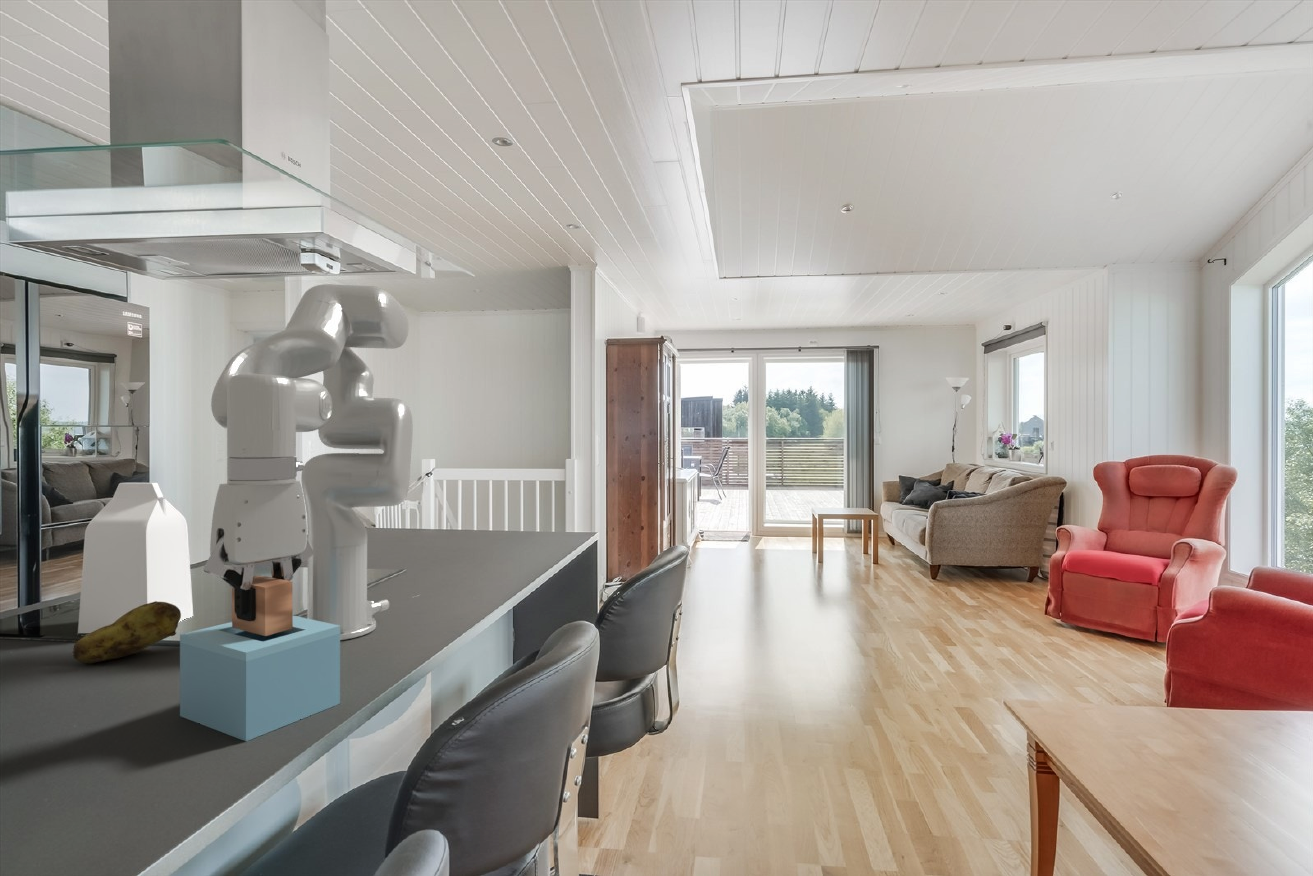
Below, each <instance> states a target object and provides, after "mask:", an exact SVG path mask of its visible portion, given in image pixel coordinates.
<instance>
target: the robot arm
mask: <svg viewBox="0 0 1313 876" xmlns="http://www.w3.org/2000/svg"><path fill="white" fill-rule="evenodd" d="M408 335H409V321H408V317H407V313H406V311H405V309H404V307H403V306H402V304H400V303H399V302H398V300H396V298H395V297H394V296H393V295H392V294H391V293H389V292H388V291H386V290H385V289H383V288H381V287H378V286H371V285H357V284H356V285H353V284H352V285H351V284H335V283H334V284H333V283H330V284H327V283H325V284H318V285H314V286H312V287H310V288H308V290H306V291H305V292H304V293H303V295H302V297H301V298H300V300H299V302H298V304H297V306H296V308H295V310H294V312H293V313H292V315H291V317H290V320H289V321H288V323H287V324H286V326H285V328H284V330H281V331H279V332H276V333H274V334H271V335H269V336H267V337H265V338H263V339H260V340H259V341H257V342H255V343H252V344H250V345H248V346H247V347H245V348H243V349H241V350H240V351H238V352H237V353H236V354H235V355H233V356H232V358H231V359H230V360H228V362H227V364H226V365H225V367H224V369H223V371H222V372H221V374H220V375H219V377H218V379H217V381H216V383H215V386H214V388H213V390H212V391H213V392H212V395H211V400H210V401H211V403H210V407H211V412H212V416H213V418H214V420H215V421H216V422H217V423H218V425H220V426H221V427H222V428H224V429H226V438H227V439H226V457H227V459H226V464H227V465H226V471H227V472H226V477H227V478H226V480H227V481H226V483H219V486H218V489H217V493H216V496H215V502H214V506H213V510H212V511H213V513H212V519H211V520H212V522H211V527H210V529H211V530H210V531H211V532H210V541H209V543H210V545H209V546H210V547H209V548H210V549H209V553H210V556H209V557H208V559H207V561H206V563H205V565H204V567H203V572H204V573H207V574H209V575H212V576H215V577H218V578H220V579H222V580H223V581H224V582H225V583H227V584H228V585H229V587H230V588H231V589H232V588H234V610H235V613H236V615H237V618H238V619H241V620H245V621H249V622H250V621H254V620H255V619H256V589H254V588H252V581H253V576H254V571H255V564H259V563H265V562H266V563H267V562H269V564H270V572H271V573H270V574H271V578H277V579H282V580H287V581H292V580H293V579H294V574H295V573H296V571H297V570H299V568H300V567H301V566H302V564H303V563H304V562H306V561H307V593H306V594H307V609H306V611H307V614H306V615H307V616H306V618H307V619H312V620H316V621H321V622H325V623H330V624H334V625H339V626H340V641H343V640H349V639H355V638H358V637H362V636H365V635H367V634H369V633H371V632H373V631H375V629H376V628H377V621H376V620H377V619H375V618H374V617H373V616H374V615H375V614H376V613H377V612H383V611H386V610H388V609H389V608H390V601H389V600H388V599H382V600H378V601H375V602H374V601H373V600H368V532H367V528H366V526H365V523H364V522H363V521H362V519H361V518H360V516H359V515H357V513H356V511H354V509H353V508H362V507H363V508H367V507H368V508H371V507H373V508H374V507H382V508H383V507H394V506H399V505H400V504H402V503H403V502H404V501H405V500H406V498H407V496H408V492H409V488H410V479H411V478H410V477H411V465H412V460H411V459H412V447H413V425H414V424H413V417H412V411H411V409H410V407H409V405H408V404H407V403H406V402H405V401H403V400H401V399H399V398H390V397H373V393H374V391H373V390H374V382H375V379H374V375H373V373H372V371H371V369H370V368H369V366H368V365H367V364H366V363H365V362H364V360H363V359H361V357H360V356H359V355H357V354H356V353H355V352H354V351H353V349H352V348H357V349H358V348H359V349H386V350H388V349H394V350H395V349H398V348H401V347H402V346H403V345H404V344H405V343H406V341H407V338H408ZM321 372H322V373H323V378H322V379H323V380H322V381H323V382H322V383H321V382H319V381H318V380H315V379H313V378H303V377H308V376H311V375H314V374H319V373H321ZM314 431H318V437H319V440H320V441H321V443H322V444H323V445H324V446H326V447H329V448H333V449H339V450H340V449H341V450H382V451H383V453H360V452H338V453H337V452H335V453H334V452H331V453H324V454H318V455H316V456H313V457H311V458H310V459H309V460H307V461H306V462H305V464H304V463H303V461H299V460H298V457H296V455H297V454H296V453H297V441H296V440H297V433H309V432H314ZM297 472H301V474H300V475H301V477H300V478H301V480H297V476H298V475H297ZM224 563H230V564H231V567H230V568H229V567H226V566H225V564H224Z"/></svg>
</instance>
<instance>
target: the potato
mask: <svg viewBox="0 0 1313 876" xmlns="http://www.w3.org/2000/svg"><path fill="white" fill-rule="evenodd" d="M180 618H181V612H180V610H179V608H178V607H176V606H175V605H173V604H170V603H167V602H157V601H155V602H152V603H148V604H144V605H142V606H139V607H137V608H134V609H132V610H131V611H129V612H127V613H126V614H124V615H123V616H122V617H120V618H119V619H118V620H116V621H115V622H114V623H113V624H111V625H108V626H104V627H102V628H100V629H97V630H95V631H93V632H91V633H90V634H88V635H83V637H81V638H80V639H78V640H77V641H76V642H75V643H74V644H73V651H72V653H73V655H72V656H73V658H74V660H75V661H76V660H77V661H78V662H80V663H84V664H87V665H88V664H95V663H99V662H103V661H110V660H115V659H119V658H124V657H128V656H130V655H134V654H136V653H138V652H140V651H142V650H143V651H144V650H145V649H146V648H149V647H150V646H152V645H153V644H155V643H158V642H160V641H162V640H166V639H167V638H169V637H173V636H176V634H177V632H176V630H177V629H178V627H179V623H180V622H179V620H180ZM178 622H179V623H178Z"/></svg>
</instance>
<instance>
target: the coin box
mask: <svg viewBox="0 0 1313 876" xmlns="http://www.w3.org/2000/svg"><path fill="white" fill-rule="evenodd" d="M340 704H341V640H340V626H339V625H334V624H330V623H325V622H321V621H316V620H312V619H307V617H302V616H297V615H293V628H292V629H289V630H285V631H282V632H278V633H275V634H271V635H268V636H263V635H259V634H255V633H251V632H248V631H244V630H240V629H236V628H233V627H232V621H230V622H229V621H228V622H225V623H222V624H218V625H214V626H210V627H209V626H208V627H206V628H205V627H204V628H201V629H195V630H192V631H188V632H184V633H180V634H179V716H180V717H181V718H184V719H186V720H189V721H192V722H194V723H197V724H199V723H200V725H202V726H205V727H207V728H210V729H213V730H216V731H218V732H220V733H223V734H226V735H228V736H231V737H233V738H236V739H238V740H241V741H244V742H248V741H251V740H253V739H256V738H258V737H261V736H263V735H266V734H268V733H271V732H273V731H276V730H279V729H280V728H283V727H285V726H288V725H290V724H292V723H295V722H298V721H301V720H302V719H305V718H308V717H310V715H311V716H314V715H315V714H318V713H320V712H323V711H326V710H328V709H330V708H333V707H335V706H338V705H340ZM300 719H301V720H300Z"/></svg>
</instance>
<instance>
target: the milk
mask: <svg viewBox="0 0 1313 876" xmlns="http://www.w3.org/2000/svg"><path fill="white" fill-rule="evenodd" d="M188 532H189V530H188V523H187V520H186V517H185V516H184V515H183V514H182V513H181V512H180V511H179V510H178V509H177V508H175V507H174V506H173V504H172V503H170V501H168V500H167V499H166V498H165V497H164V494H163V492H162V490H161V488H160V485H159V483H158V482H120V483H118V486H117V488H116V490H115V491H114V494H113V497H112V498H111V499H110V500H109V501H108V502H107V504H106V505H105V506H103V508H101V510H100V511H99V512H98V513H97V514H96V515H95V516H94V517H93V518H92V519H91V520H90V522H89V523H88V525H87V526H86V528H85V532H84V540H83V541H84V542H83V553H82V554H83V555H82V556H83V557H82V559H83V560H82V570H81V585H80V597H79V598H80V599H79V613H78V624H77V625H78V626H77V634H78V633H91V632H93V631H95V630H97V629H100V628H102V627H104V626H108V625H111V624H113V623H114V622H115V621H116V620H118V619H119V618H120V617H122V616H123V615H124V614H126V613H127V612H129V611H131V610H132V609H134V608H137V607H139V606H142V605H144V604H148V603H152V602H155V601H157V602H167V603H170V604H173V605H175V606H176V607H178V608H179V610H180V612H181V618H180V620H179V623H181V622H183V621H182V620H184V619H186V618H189V619H191V618H193V617H194V607H193V591H192V579H191V578H192V575H191V562H190V561H191V559H190V545H189V533H188ZM192 616H193V617H192ZM190 617H191V618H190ZM186 620H187V619H186ZM180 621H181V622H180ZM184 621H185V620H184Z"/></svg>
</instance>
